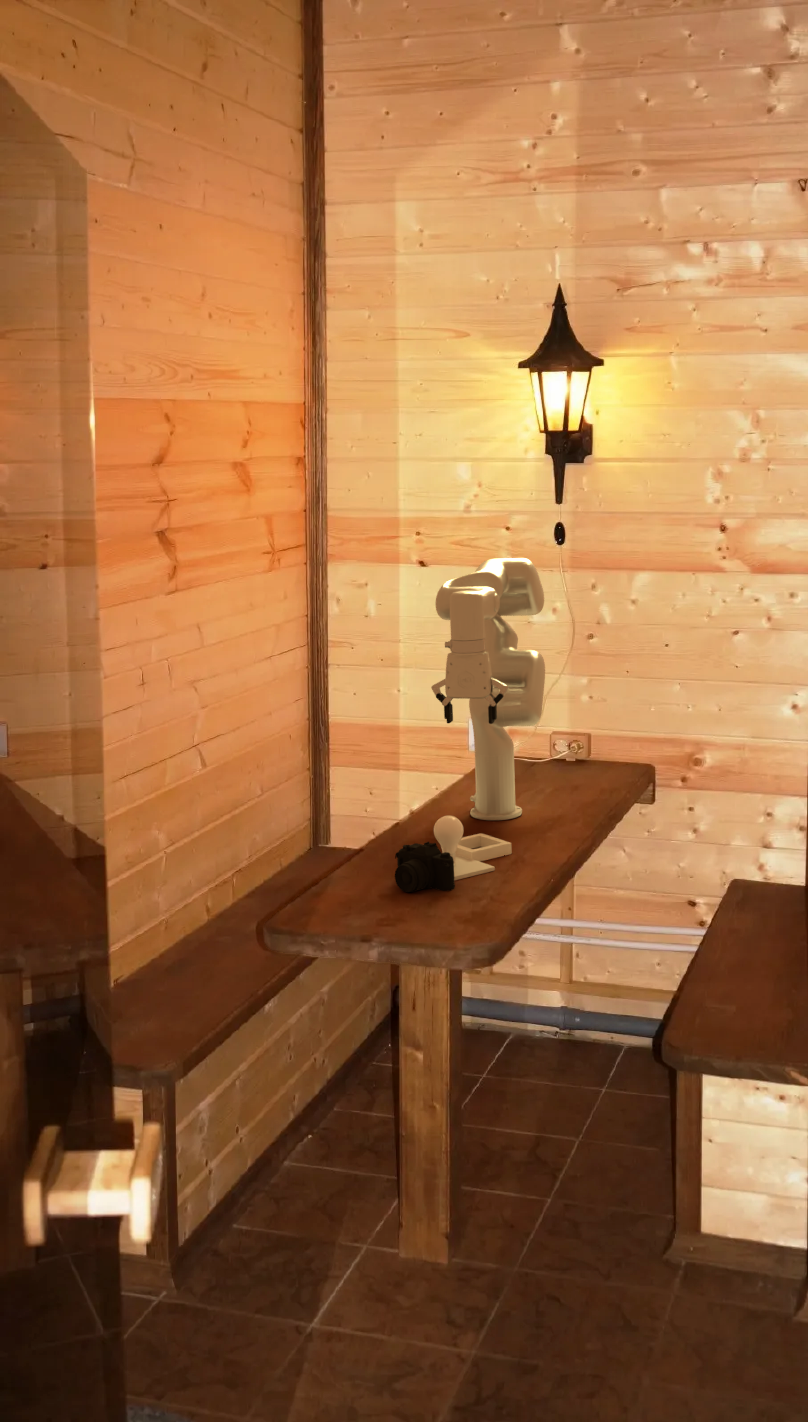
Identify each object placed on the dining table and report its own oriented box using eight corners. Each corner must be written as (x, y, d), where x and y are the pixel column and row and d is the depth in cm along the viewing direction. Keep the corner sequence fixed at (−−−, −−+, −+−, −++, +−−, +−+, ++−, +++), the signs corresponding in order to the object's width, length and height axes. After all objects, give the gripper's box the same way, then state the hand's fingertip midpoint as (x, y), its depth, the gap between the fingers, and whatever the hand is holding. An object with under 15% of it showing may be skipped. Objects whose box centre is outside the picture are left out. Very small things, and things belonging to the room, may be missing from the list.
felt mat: (403, 869, 317) (403, 865, 317) (456, 856, 324) (455, 853, 324) (441, 883, 305) (441, 879, 305) (494, 870, 313) (494, 866, 313)
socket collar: (442, 852, 328) (441, 842, 327) (481, 843, 334) (481, 833, 333) (471, 863, 319) (471, 852, 318) (511, 853, 325) (511, 842, 324)
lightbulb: (465, 869, 312) (464, 819, 310) (435, 870, 312) (434, 820, 310) (463, 860, 318) (462, 811, 316) (434, 862, 318) (432, 812, 316)
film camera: (376, 886, 305) (374, 845, 304) (408, 875, 312) (407, 834, 311) (430, 900, 295) (428, 857, 293) (461, 888, 302) (460, 846, 300)
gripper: (426, 649, 324) (429, 725, 327) (502, 649, 319) (505, 726, 322) (434, 644, 331) (437, 719, 334) (509, 644, 326) (512, 719, 329)
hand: (470, 722), depth 328 cm, fingers open, 9 cm apart
